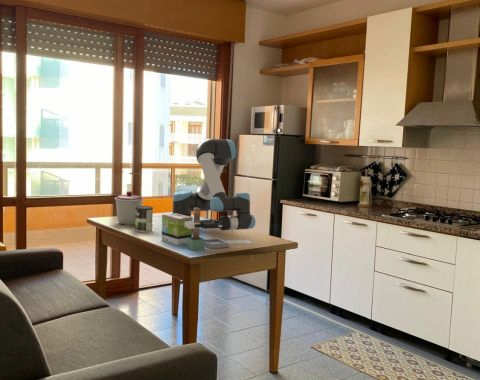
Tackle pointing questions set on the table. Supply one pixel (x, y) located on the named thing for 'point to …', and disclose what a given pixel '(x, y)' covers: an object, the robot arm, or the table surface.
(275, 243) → the table surface
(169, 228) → the tea box
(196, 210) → the dowel
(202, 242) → the cup
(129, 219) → the canister
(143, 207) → the coffee can
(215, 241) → the tray
